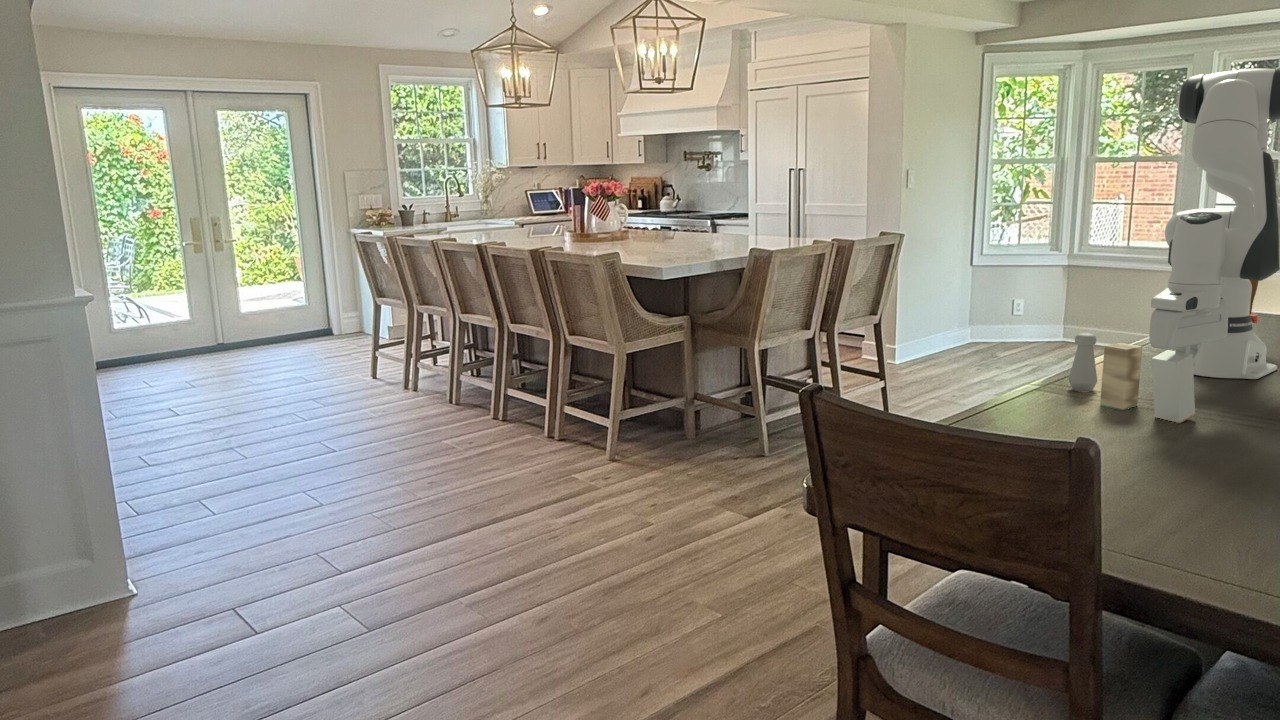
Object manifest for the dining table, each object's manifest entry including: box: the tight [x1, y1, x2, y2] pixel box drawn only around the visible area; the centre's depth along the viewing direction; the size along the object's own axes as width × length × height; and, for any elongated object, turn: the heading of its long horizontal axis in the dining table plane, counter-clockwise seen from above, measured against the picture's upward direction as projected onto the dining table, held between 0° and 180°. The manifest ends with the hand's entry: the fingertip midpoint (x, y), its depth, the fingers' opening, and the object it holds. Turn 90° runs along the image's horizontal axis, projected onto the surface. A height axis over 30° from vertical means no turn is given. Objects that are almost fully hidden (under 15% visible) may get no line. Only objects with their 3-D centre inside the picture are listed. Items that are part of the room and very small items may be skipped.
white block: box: [1151, 349, 1196, 424], centre depth 175 cm, size 5×5×13 cm
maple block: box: [1099, 342, 1143, 411], centre depth 186 cm, size 5×5×13 cm
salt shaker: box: [1068, 332, 1098, 393], centre depth 200 cm, size 6×6×13 cm
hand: (1186, 366), depth 176 cm, fingers closed
